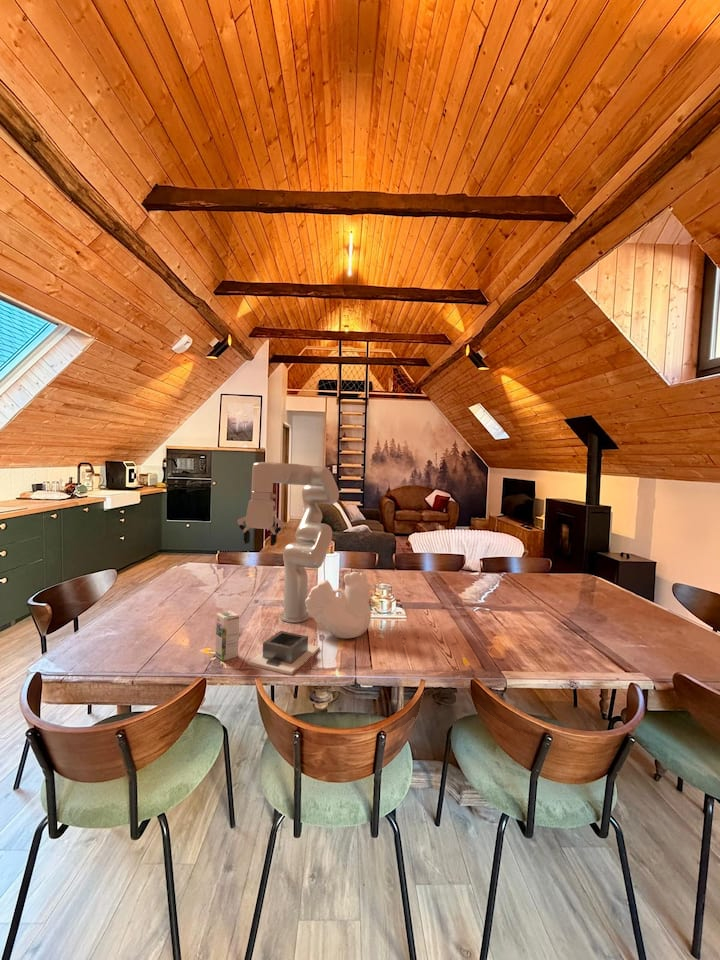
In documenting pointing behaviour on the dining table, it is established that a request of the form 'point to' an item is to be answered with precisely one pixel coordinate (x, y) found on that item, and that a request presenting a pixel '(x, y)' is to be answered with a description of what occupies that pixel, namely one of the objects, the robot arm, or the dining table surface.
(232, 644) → the syrup box
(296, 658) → the pocket stand
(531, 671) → the dining table surface
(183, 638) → the dining table surface
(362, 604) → the decorative rooster
